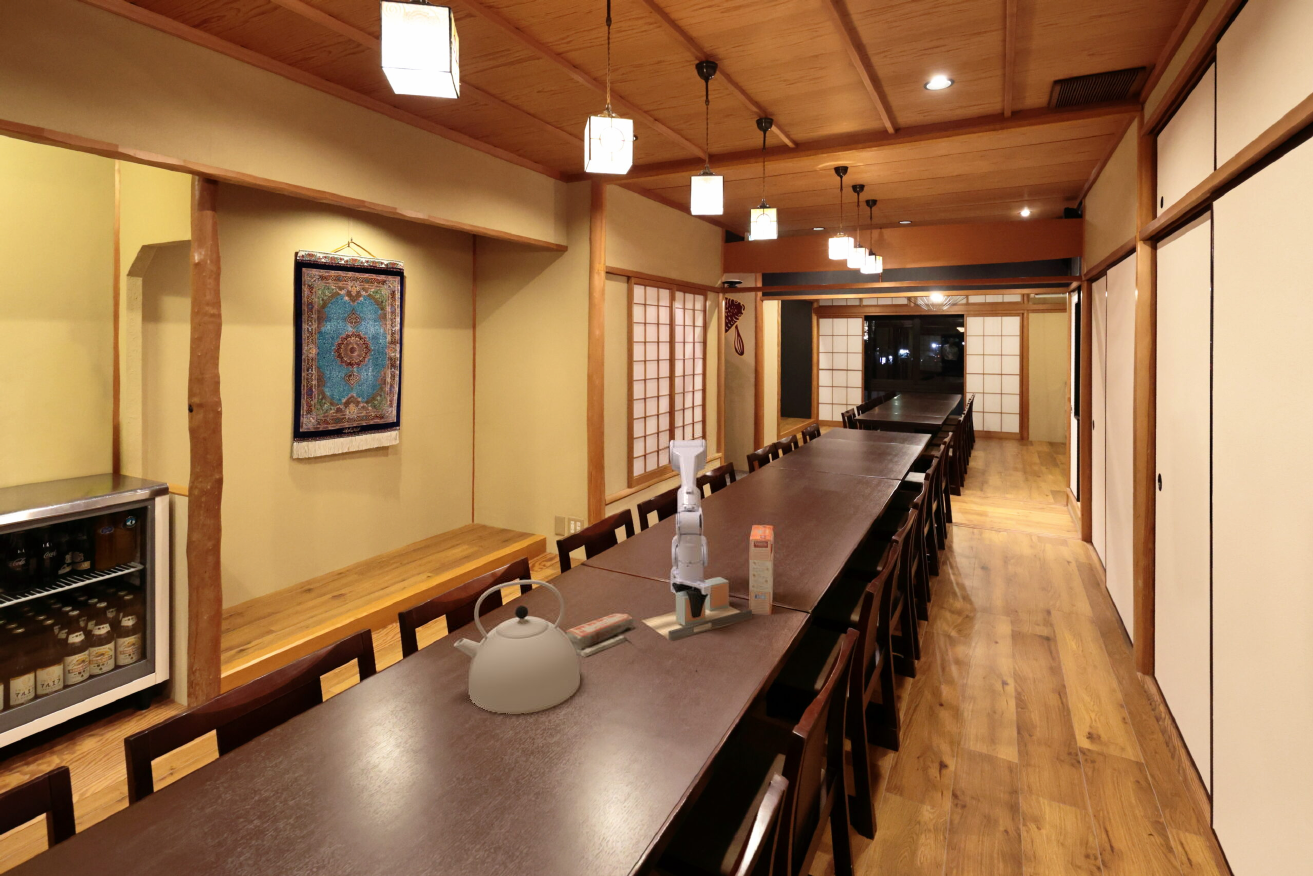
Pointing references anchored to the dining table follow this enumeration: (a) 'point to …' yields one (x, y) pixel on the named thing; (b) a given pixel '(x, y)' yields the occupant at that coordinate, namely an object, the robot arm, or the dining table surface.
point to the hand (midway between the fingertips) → (690, 613)
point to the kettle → (521, 661)
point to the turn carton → (686, 610)
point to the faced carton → (717, 594)
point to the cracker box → (761, 569)
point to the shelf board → (712, 620)
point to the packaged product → (600, 634)
